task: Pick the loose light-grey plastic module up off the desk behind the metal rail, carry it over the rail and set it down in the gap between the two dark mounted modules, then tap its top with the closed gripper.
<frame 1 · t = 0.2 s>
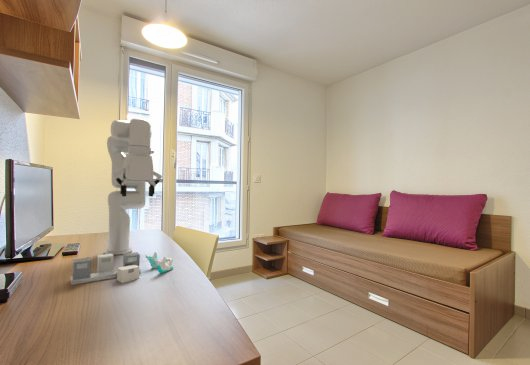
hand: (137, 196, 100), 30 cm above the table, tool pointing down, fingers open, 9 cm apart
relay: (128, 279, 97), on the table
module: (105, 271, 104), on the table
rail: (107, 277, 98), on the table
jawbone: (161, 270, 108), on the table
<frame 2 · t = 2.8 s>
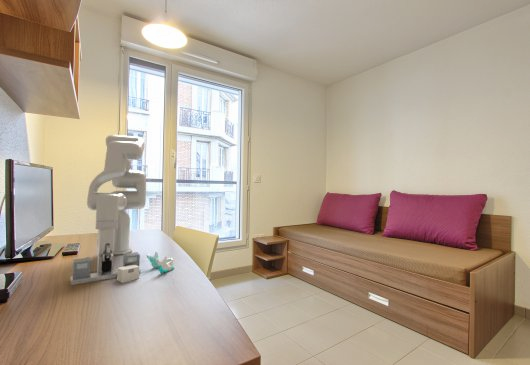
hand: (105, 268, 104), 1 cm above the table, tool pointing down, fingers open, 8 cm apart
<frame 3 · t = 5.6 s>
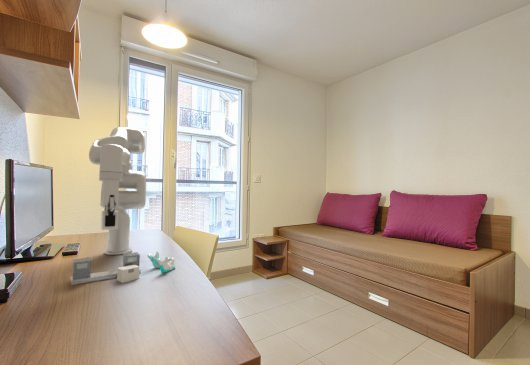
hand: (109, 225, 99), 19 cm above the table, tool pointing down, fingers closed on module, 4 cm apart
module: (109, 228, 99), point 18 cm above the table, touching gripper
when the fingers open (4 cm above the table, at t = 7.9 s): module stays where it is, resting on rail.
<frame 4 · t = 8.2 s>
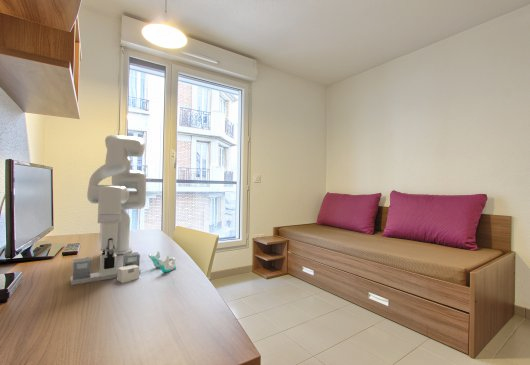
hand: (107, 265, 98), 4 cm above the table, tool pointing down, fingers open, 7 cm apart
module: (108, 273, 98), point 1 cm above the table, touching rail
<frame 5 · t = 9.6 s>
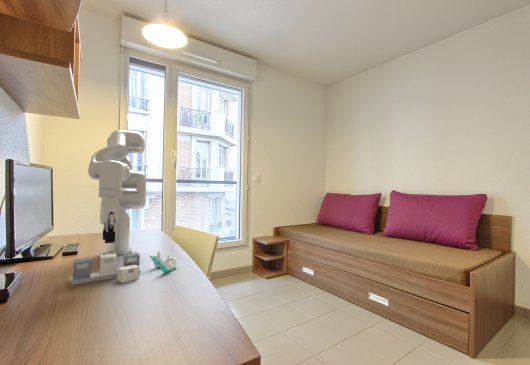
hand: (108, 240, 99), 14 cm above the table, tool pointing down, fingers open, 6 cm apart
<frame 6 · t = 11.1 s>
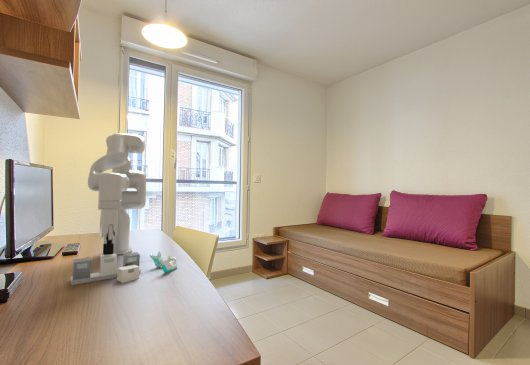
hand: (108, 254, 98), 9 cm above the table, tool pointing down, fingers closed
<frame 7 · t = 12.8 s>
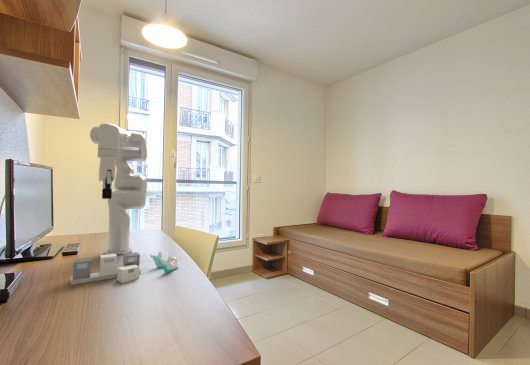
hand: (106, 198, 108), 29 cm above the table, tool pointing down, fingers closed
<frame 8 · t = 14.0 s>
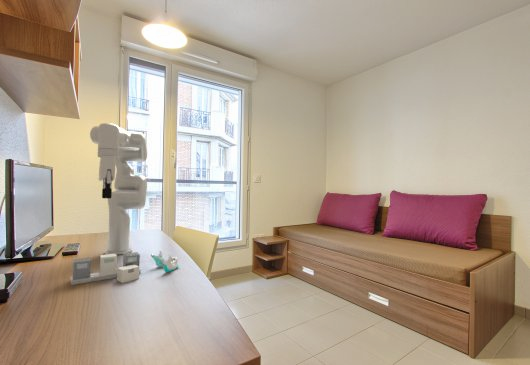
hand: (106, 198, 108), 29 cm above the table, tool pointing down, fingers closed
at the end: module inside the target area on the rail (0.2 cm from its centre), point 1.5 cm above the rail's base; module tilted 0°; the gripper is holding nothing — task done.
